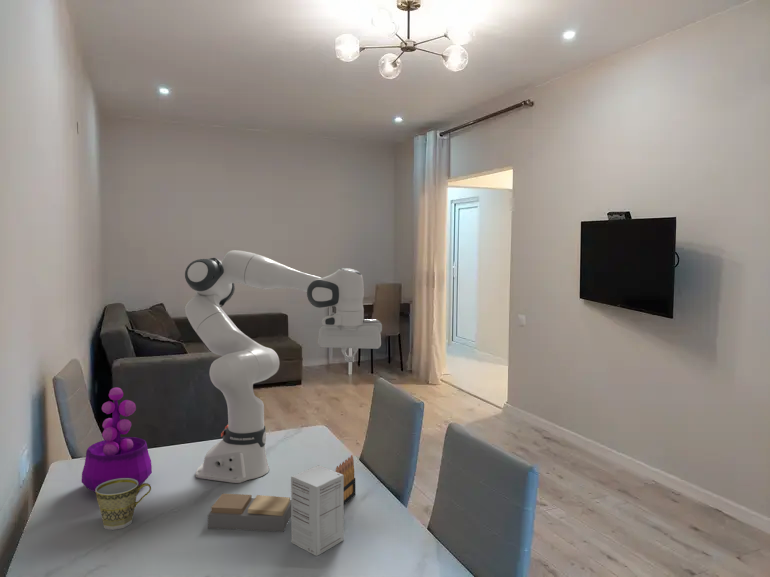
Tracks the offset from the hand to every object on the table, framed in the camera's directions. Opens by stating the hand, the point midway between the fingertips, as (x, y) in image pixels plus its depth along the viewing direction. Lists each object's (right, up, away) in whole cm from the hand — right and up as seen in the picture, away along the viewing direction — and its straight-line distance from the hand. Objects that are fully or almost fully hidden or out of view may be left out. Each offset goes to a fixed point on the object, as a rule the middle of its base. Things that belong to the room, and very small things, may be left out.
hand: (349, 361), depth 178 cm
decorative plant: (-68, -36, -14) cm, 78 cm away
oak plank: (-19, -34, -34) cm, 51 cm away
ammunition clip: (0, -37, -21) cm, 43 cm away
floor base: (-23, -37, -33) cm, 55 cm away
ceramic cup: (-56, -37, -35) cm, 76 cm away
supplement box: (-5, -39, -43) cm, 58 cm away
